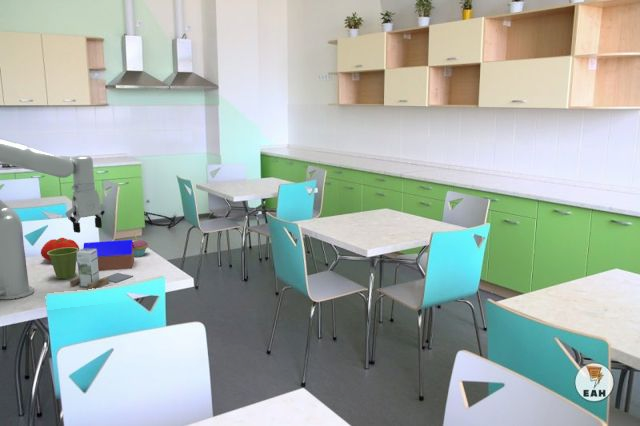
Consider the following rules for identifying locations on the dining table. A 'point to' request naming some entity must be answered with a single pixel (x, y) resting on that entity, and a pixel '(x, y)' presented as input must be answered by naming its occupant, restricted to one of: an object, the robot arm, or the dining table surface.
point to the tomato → (57, 246)
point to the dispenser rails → (91, 285)
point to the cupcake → (139, 246)
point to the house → (113, 254)
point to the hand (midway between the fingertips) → (88, 229)
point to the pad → (118, 277)
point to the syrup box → (87, 266)
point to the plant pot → (64, 262)
